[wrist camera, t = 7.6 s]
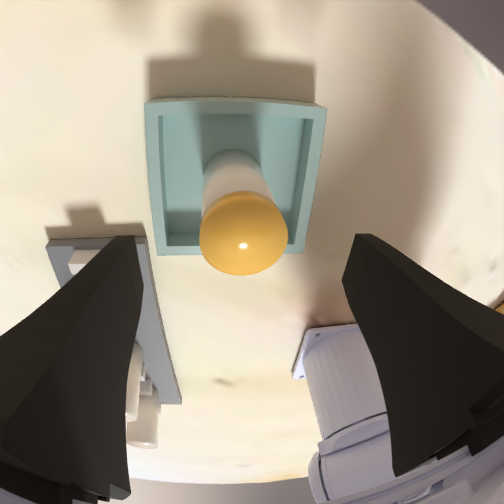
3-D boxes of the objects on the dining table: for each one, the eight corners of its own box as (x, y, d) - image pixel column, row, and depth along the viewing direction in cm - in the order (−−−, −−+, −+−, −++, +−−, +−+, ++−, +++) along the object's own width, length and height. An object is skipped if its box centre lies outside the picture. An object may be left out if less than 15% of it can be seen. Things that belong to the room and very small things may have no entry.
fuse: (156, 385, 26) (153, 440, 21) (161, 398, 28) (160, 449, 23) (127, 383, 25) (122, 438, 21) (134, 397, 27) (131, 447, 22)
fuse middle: (139, 339, 22) (130, 407, 17) (146, 360, 23) (141, 423, 18) (105, 338, 21) (91, 403, 16) (114, 359, 23) (105, 419, 18)
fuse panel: (146, 236, 17) (140, 258, 15) (181, 398, 29) (181, 415, 28) (50, 239, 16) (36, 260, 14) (122, 395, 28) (120, 412, 27)
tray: (315, 103, 14) (327, 108, 12) (295, 236, 19) (302, 252, 17) (152, 98, 13) (144, 103, 11) (161, 237, 17) (157, 255, 16)
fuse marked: (266, 151, 15) (296, 204, 10) (257, 204, 16) (278, 276, 12) (204, 146, 14) (201, 198, 9) (200, 201, 16) (197, 274, 11)
